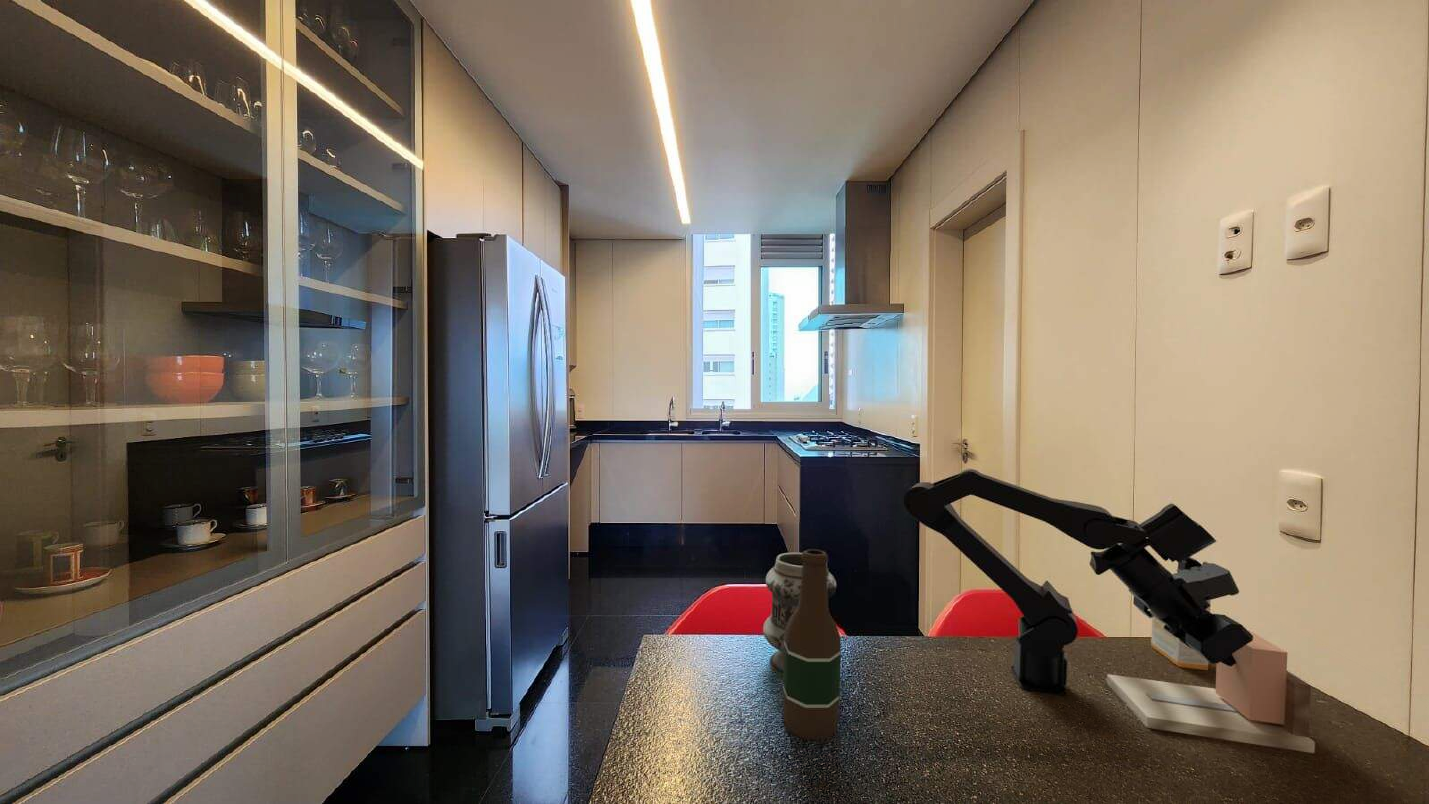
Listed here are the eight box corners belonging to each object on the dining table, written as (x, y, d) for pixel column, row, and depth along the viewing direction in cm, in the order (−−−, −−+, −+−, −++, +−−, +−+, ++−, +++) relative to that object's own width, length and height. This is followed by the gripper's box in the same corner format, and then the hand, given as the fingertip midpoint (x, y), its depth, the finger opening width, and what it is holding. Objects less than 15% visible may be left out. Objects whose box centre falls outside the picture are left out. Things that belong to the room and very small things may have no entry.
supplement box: (1210, 671, 92) (1213, 595, 91) (1177, 667, 93) (1180, 592, 92) (1178, 649, 100) (1181, 579, 100) (1149, 646, 101) (1152, 577, 101)
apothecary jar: (825, 648, 96) (828, 549, 96) (843, 685, 84) (847, 571, 84) (758, 647, 96) (761, 547, 95) (767, 684, 84) (770, 570, 83)
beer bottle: (841, 715, 76) (846, 547, 76) (835, 748, 69) (840, 563, 68) (787, 703, 79) (792, 541, 78) (775, 734, 71) (781, 556, 71)
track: (1146, 727, 75) (1149, 667, 75) (1106, 683, 87) (1108, 631, 87) (1314, 753, 70) (1317, 689, 70) (1248, 702, 82) (1250, 648, 82)
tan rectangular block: (1249, 719, 74) (1252, 648, 74) (1215, 692, 81) (1218, 627, 81) (1284, 724, 73) (1287, 652, 73) (1247, 697, 80) (1250, 630, 80)
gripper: (1238, 564, 70) (1340, 661, 67) (1159, 530, 88) (1236, 606, 85) (1164, 615, 72) (1260, 712, 69) (1101, 571, 90) (1175, 647, 87)
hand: (1231, 663), depth 78 cm, fingers closed, pressing on tan rectangular block
